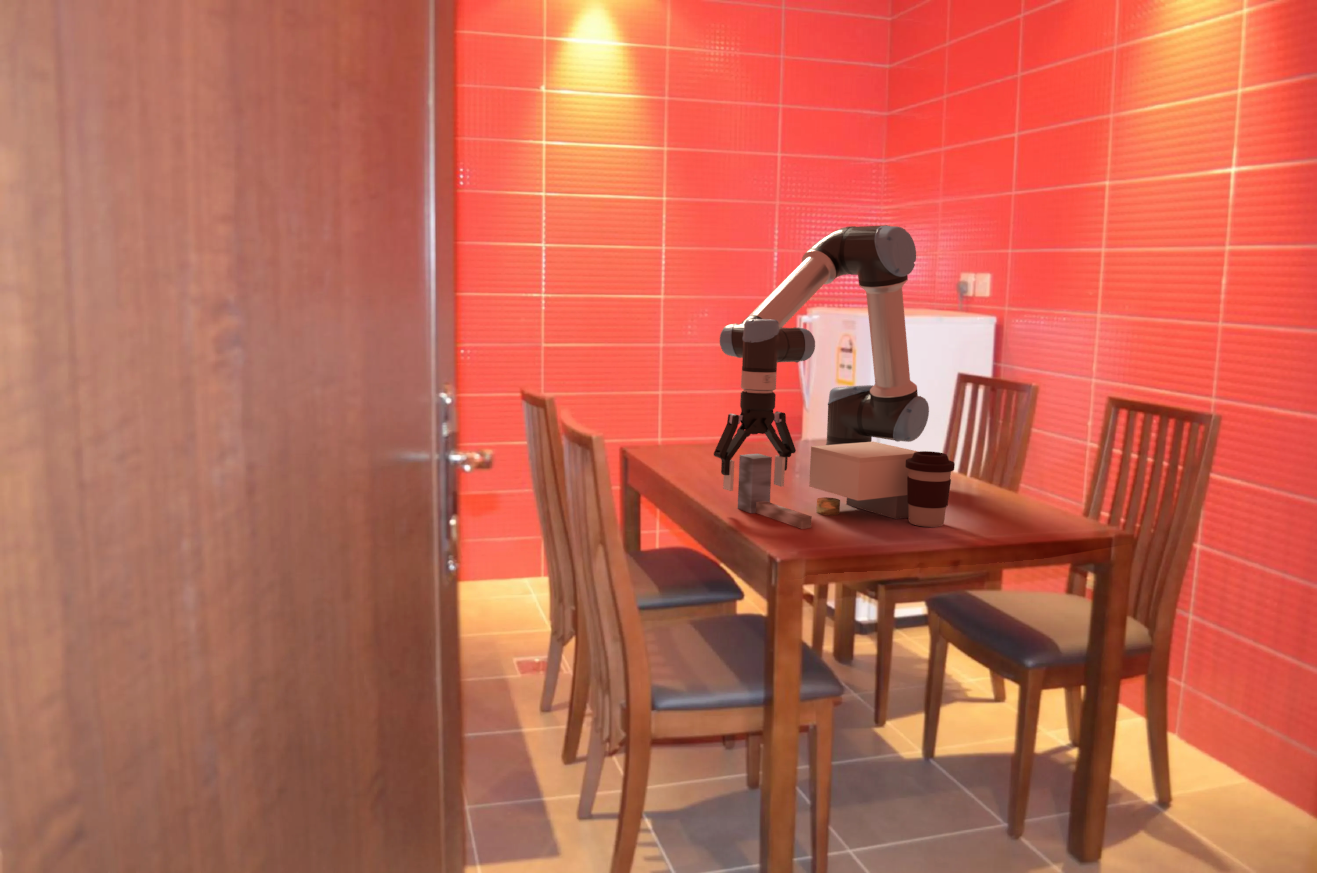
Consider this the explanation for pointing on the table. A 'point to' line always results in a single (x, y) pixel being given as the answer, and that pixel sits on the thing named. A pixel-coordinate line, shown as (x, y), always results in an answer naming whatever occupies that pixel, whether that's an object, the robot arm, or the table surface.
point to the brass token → (828, 506)
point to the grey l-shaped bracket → (763, 492)
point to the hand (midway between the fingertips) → (753, 487)
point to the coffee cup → (928, 487)
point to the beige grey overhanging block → (864, 475)
